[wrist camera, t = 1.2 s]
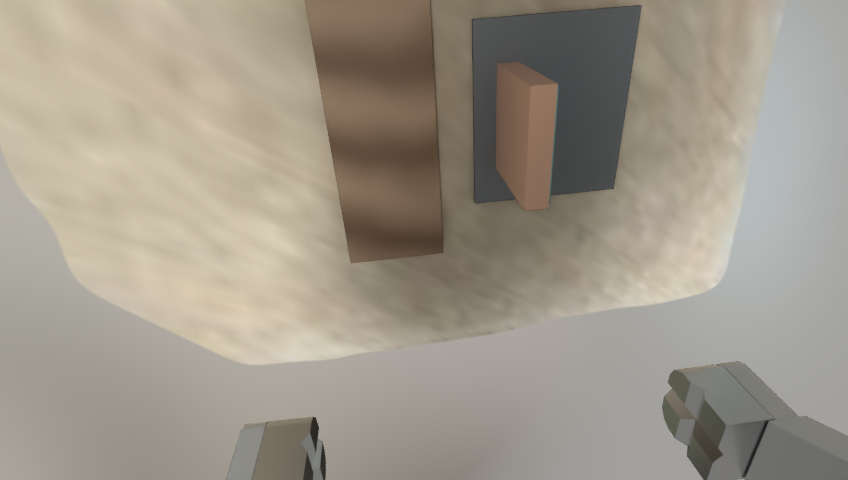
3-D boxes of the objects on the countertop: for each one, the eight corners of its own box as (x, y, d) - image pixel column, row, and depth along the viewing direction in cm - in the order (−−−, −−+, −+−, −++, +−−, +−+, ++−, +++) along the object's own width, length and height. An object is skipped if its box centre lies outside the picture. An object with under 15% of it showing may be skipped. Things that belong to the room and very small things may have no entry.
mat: (471, 19, 32) (473, 19, 32) (638, 5, 33) (641, 5, 32) (474, 201, 39) (475, 203, 39) (611, 186, 40) (613, 188, 39)
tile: (496, 63, 33) (530, 85, 26) (520, 61, 33) (560, 83, 26) (495, 167, 37) (524, 211, 30) (516, 165, 37) (550, 208, 30)
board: (306, -1, 30) (304, 0, 29) (427, -11, 31) (429, -10, 30) (351, 255, 40) (350, 263, 39) (441, 245, 41) (443, 252, 40)
